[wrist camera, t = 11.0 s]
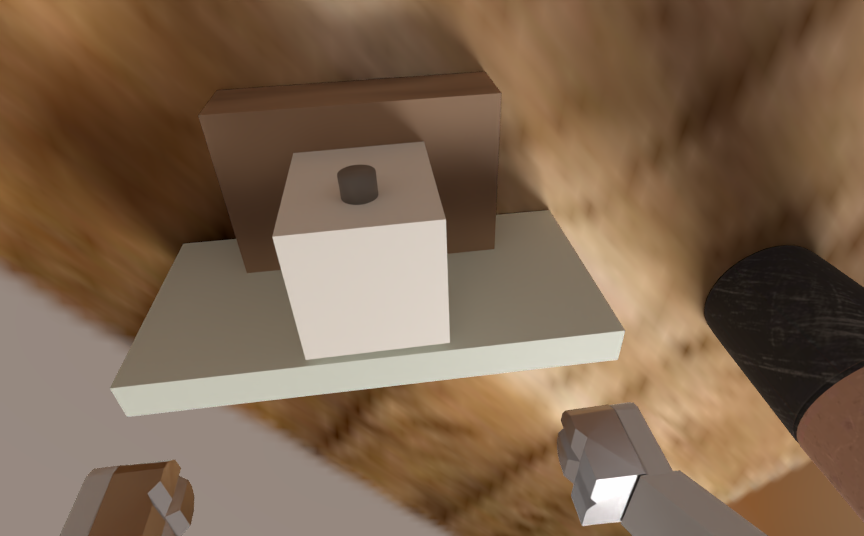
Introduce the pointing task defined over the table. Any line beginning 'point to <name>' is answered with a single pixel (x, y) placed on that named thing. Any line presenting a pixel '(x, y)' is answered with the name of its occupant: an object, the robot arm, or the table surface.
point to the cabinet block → (364, 250)
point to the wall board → (295, 376)
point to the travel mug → (801, 353)
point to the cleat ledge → (356, 127)
